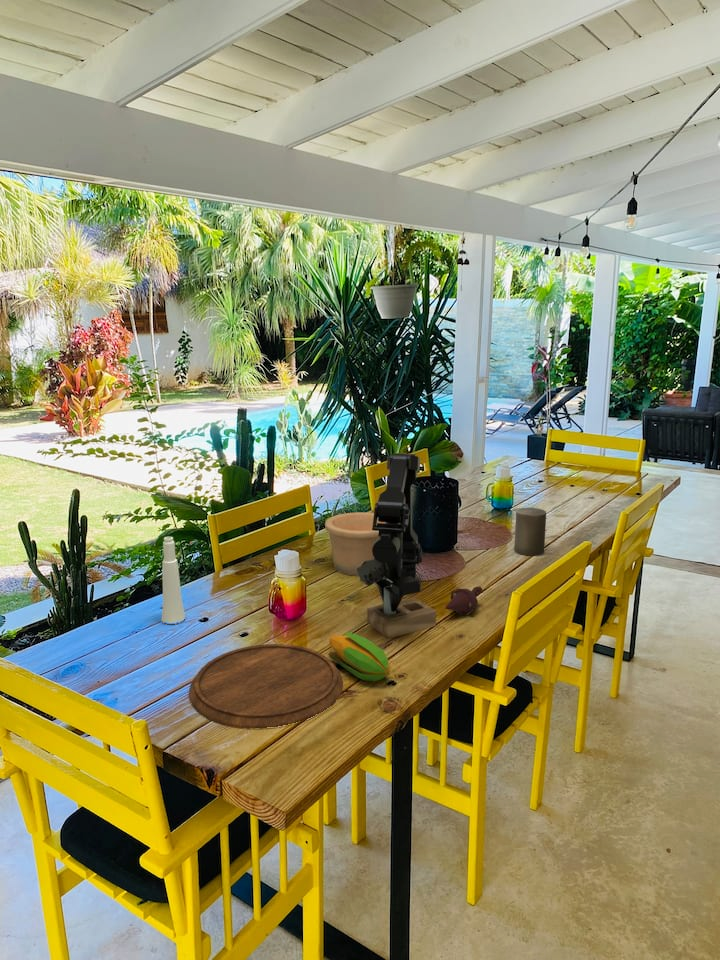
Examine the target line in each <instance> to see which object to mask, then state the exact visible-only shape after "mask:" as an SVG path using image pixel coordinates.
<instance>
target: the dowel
mask: <svg viewBox="0 0 720 960" xmlns="http://www.w3.org/2000/svg"><path fill="white" fill-rule="evenodd" d="M386 587H391V586H385V587H384V614H385V615H386V616H390V615H394V614H396V611H394V612H392V611H391V606H390V594H389V592H388V591H387V590H386V589H385V588H386Z"/></svg>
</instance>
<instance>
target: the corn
mask: <svg viewBox="0 0 720 960" xmlns="http://www.w3.org/2000/svg"><path fill="white" fill-rule="evenodd" d="M344 634H345V635H340V634H339V635H338V634H335V635H333V636H331V637H329V645H330V646H331V647H330V648H332V650H333V651H334V652H335V653H336V654H337V655H338V656H339V658H341V659H342V660H343V662H345V663H346V664H345V663H343V662H342V661H340V660H338V659H337V658H335V657H334V656H333V655H332V654H330V653H328V654H327V655H328V656H329V657H330V658H331V659H332V660H333V661H334V662H336V664H338V665H339V666H341V667H342V668H344V669H345V670H347V671H348V672H350V673H351V674H352V675H353V676H355V677H356V678H358V679H359V680H362V681H365V682H378V681H380V680H382V679H386V678H387V677H388V676H389V674H390V672H391V668H392V666H391V664H390V662H389V658H388V657H387V655H386V653H385V651H384V649H382V648H380V647H379V646H378V645H377V644H375V643H373V642H372V641H371V640H369V639H367V638H366V637H363V636H361V635H359V634H355V633H351V632H345V633H344ZM347 664H348V665H347Z"/></svg>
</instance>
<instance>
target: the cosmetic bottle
mask: <svg viewBox="0 0 720 960" xmlns="http://www.w3.org/2000/svg"><path fill="white" fill-rule="evenodd" d="M162 548H163V560H162V564H161V565H162V570H161V571H162V611H161V612H162V613H161V619H162V621H163V622H167V623H176V622H180V621H182V620H184V619H185V617H186V614H185V610H184V602H183V597H182V590H181V581H180V580H181V579H180V571H179V562H178V558H176V544H175V540H174V537H173V536H165V537H163V541H162ZM185 620H186V619H185ZM162 621H161V622H162Z"/></svg>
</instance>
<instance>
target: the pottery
mask: <svg viewBox="0 0 720 960" xmlns="http://www.w3.org/2000/svg"><path fill="white" fill-rule="evenodd" d="M373 518H374V512H364V511H363V512H362V511H358V512H357V511H356V512H347V513H340V514H336V515H334V516H331V517H328V518H327V519H326V520H325V522H324V523H325V524H324V526H325V529H324V530H326V531H327V532H328V535H329V540H330V545H331V554H332V560H333V568H334V569H335V570H336V571H337V572H338V573H341V574H344V575H348V576H357V577H359V575H358V572H357V568H359V567H360V566H361V565H362V564H363V563H364V561H368V560H373V559H374V556H373V553H372V548H373V546H374V544H375V542H376V540H377V538H378V535H379V531H374V530H372V527H373ZM377 523H386V522H379V521H378V519H377ZM376 525H377V524H376Z"/></svg>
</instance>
